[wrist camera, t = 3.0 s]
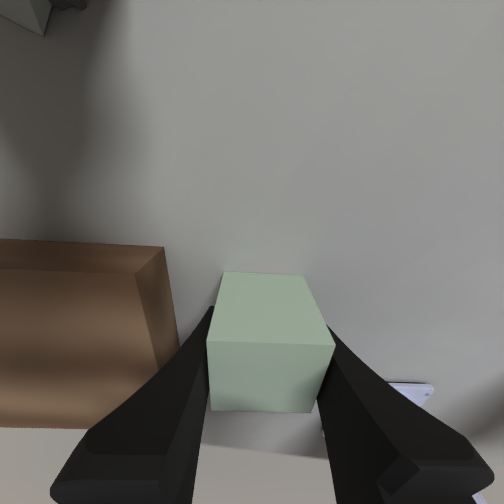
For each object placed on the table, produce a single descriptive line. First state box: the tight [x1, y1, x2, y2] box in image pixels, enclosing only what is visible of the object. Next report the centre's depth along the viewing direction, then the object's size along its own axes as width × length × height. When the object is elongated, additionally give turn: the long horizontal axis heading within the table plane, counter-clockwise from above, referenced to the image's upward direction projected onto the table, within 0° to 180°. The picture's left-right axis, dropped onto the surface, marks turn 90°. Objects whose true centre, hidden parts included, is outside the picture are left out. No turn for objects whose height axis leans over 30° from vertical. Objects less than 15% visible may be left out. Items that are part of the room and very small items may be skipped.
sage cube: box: [206, 272, 336, 413], centre depth 10 cm, size 5×5×5 cm
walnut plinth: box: [0, 239, 180, 429], centre depth 12 cm, size 14×14×3 cm
